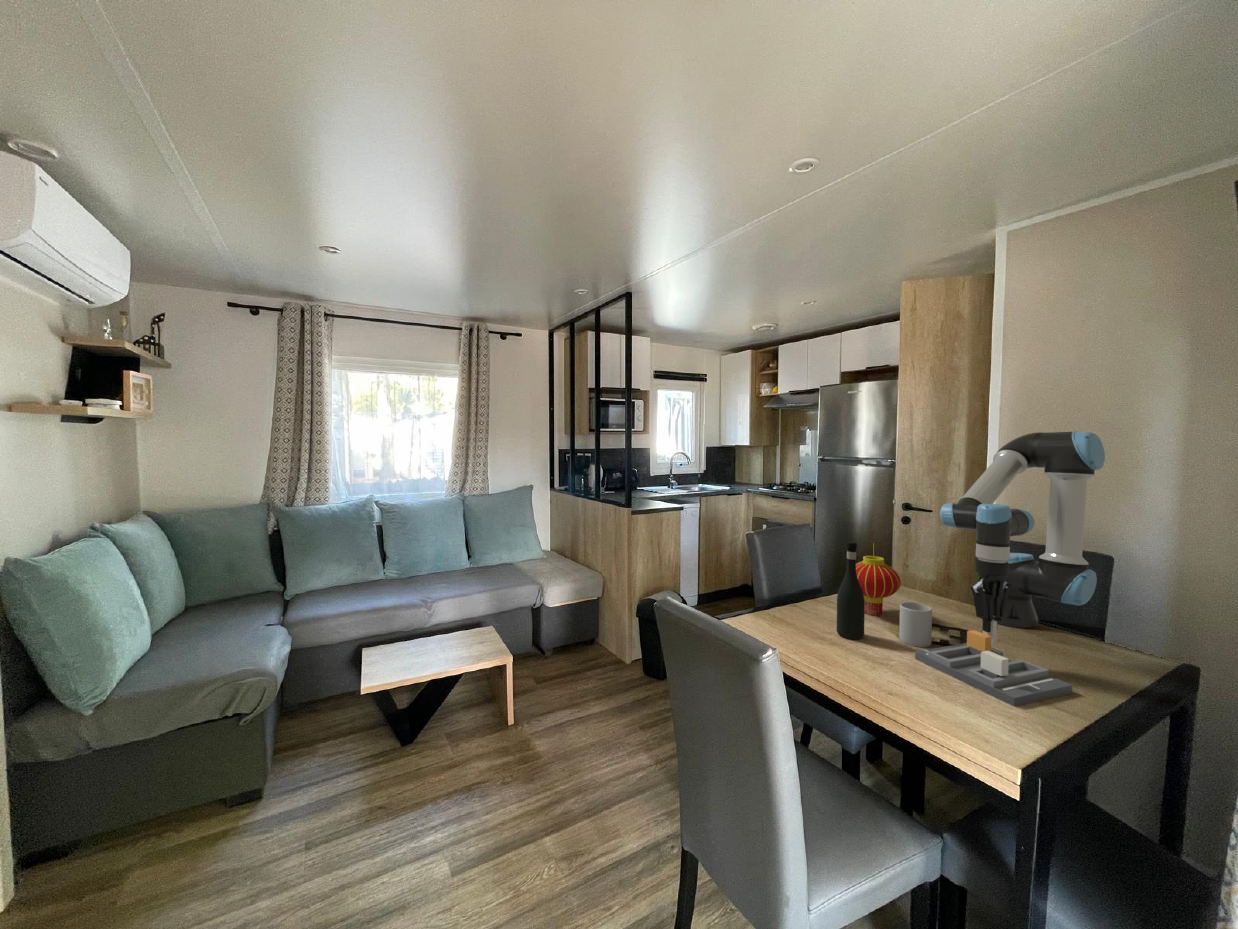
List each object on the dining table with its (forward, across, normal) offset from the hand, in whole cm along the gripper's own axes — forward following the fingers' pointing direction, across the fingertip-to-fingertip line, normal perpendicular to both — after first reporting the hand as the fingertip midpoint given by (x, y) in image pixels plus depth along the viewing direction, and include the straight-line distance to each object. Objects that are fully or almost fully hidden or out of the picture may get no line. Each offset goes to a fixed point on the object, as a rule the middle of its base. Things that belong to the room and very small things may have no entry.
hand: (989, 642), depth 134 cm
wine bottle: (+5, +24, -26) cm, 36 cm away
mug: (+5, +7, -17) cm, 19 cm away
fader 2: (+3, +14, +11) cm, 18 cm away
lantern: (+5, +1, -40) cm, 40 cm away
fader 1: (+3, +4, 0) cm, 5 cm away
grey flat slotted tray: (+5, +9, +6) cm, 12 cm away
